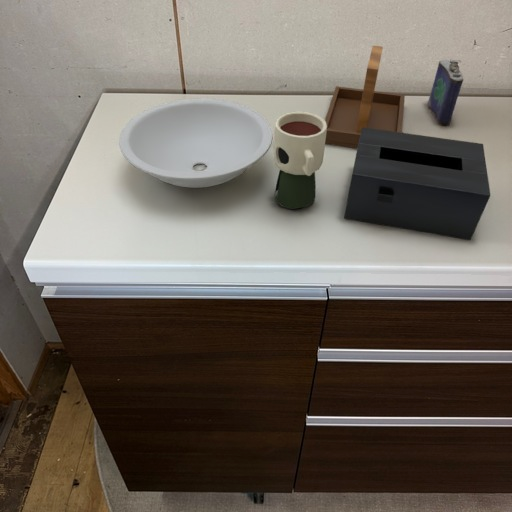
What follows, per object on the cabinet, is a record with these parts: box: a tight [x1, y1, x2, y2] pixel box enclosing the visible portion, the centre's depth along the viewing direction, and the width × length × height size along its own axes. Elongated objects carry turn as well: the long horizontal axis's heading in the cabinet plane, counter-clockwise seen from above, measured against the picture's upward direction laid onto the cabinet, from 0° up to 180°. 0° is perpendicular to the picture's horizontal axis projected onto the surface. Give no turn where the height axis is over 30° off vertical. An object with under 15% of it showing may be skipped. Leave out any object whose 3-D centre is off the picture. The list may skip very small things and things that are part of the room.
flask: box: [427, 59, 464, 127], centre depth 89 cm, size 9×3×11 cm, turn 1°
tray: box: [324, 85, 406, 149], centre depth 89 cm, size 18×14×3 cm
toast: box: [356, 45, 384, 133], centre depth 85 cm, size 10×2×12 cm, turn 165°
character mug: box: [273, 111, 327, 210], centre depth 69 cm, size 11×7×13 cm, turn 12°
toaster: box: [343, 127, 492, 241], centre depth 70 cm, size 18×14×8 cm
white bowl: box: [118, 97, 274, 189], centre depth 77 cm, size 24×24×7 cm
